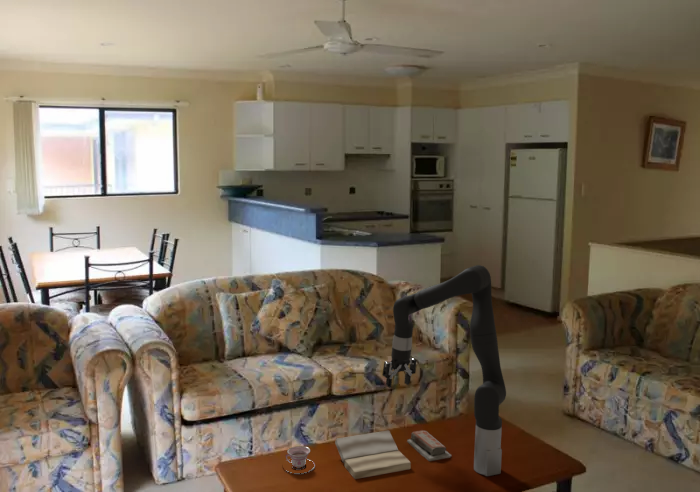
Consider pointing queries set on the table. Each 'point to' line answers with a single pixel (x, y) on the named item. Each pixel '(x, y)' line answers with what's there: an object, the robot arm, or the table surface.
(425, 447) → the packaged product
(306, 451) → the teacup
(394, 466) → the oak plank
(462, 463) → the table surface
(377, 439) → the whitewashed plank
